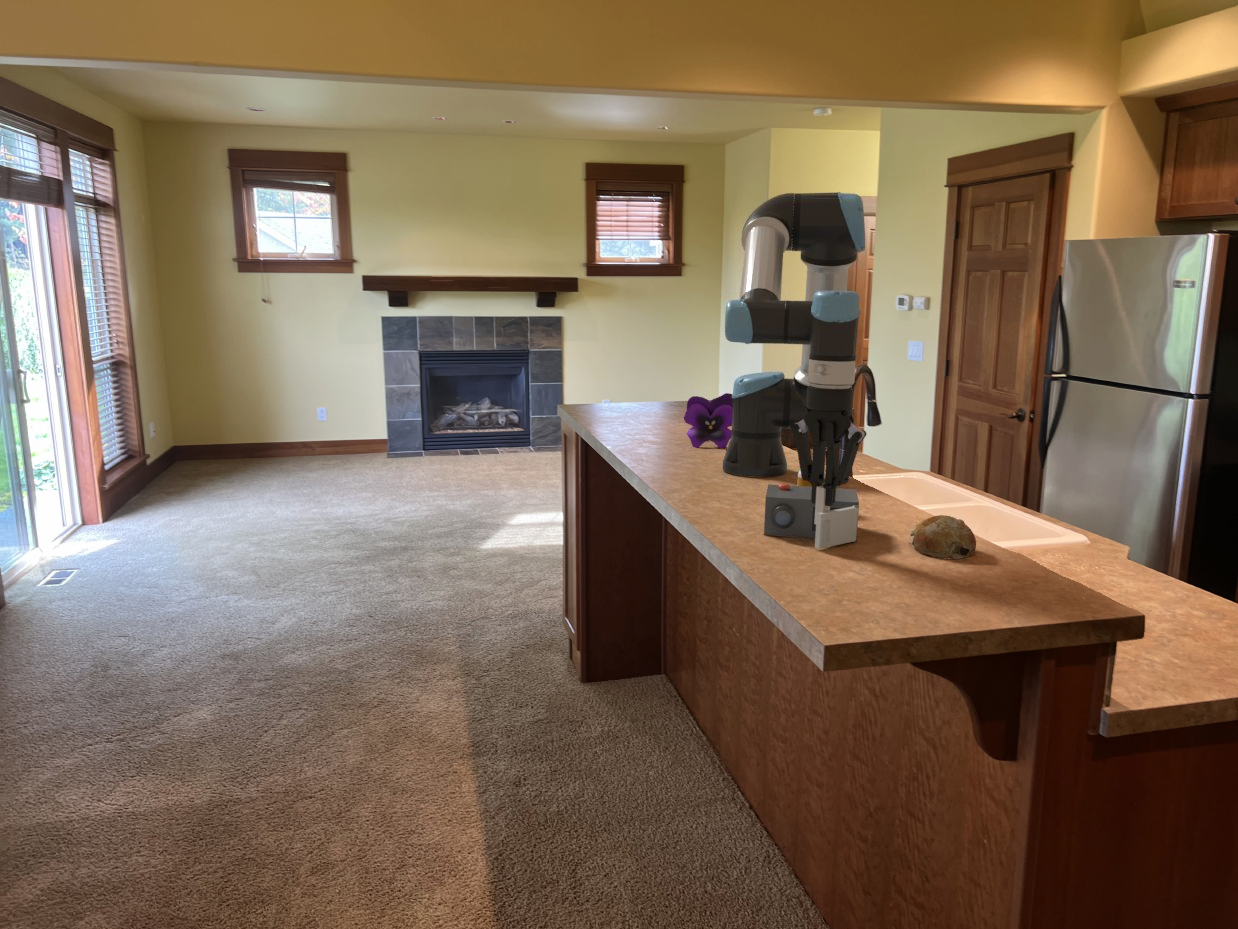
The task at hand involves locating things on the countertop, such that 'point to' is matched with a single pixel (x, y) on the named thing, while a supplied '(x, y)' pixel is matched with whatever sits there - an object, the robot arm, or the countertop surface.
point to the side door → (836, 527)
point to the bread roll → (944, 538)
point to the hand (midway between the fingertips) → (821, 523)
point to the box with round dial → (797, 509)
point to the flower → (709, 420)
